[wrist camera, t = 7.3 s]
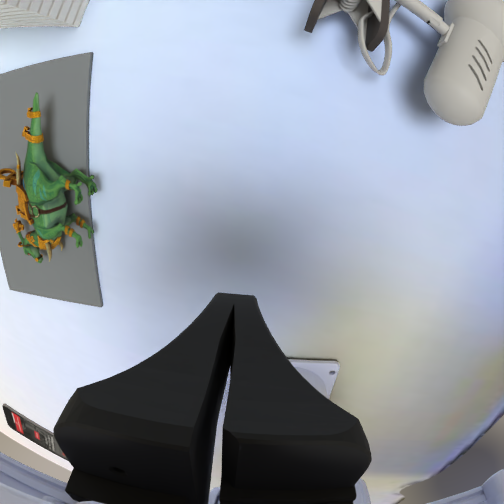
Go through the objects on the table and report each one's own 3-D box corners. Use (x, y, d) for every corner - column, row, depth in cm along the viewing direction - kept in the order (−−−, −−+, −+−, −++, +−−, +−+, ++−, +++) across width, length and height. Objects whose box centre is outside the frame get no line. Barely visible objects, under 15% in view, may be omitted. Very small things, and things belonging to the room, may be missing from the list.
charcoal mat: (103, 305, 23) (101, 307, 22) (11, 287, 23) (9, 289, 22) (93, 52, 15) (90, 52, 15) (-9, 78, 15) (-12, 78, 15)
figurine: (98, 267, 21) (17, 241, 21) (110, 94, 16) (17, 90, 16) (77, 291, 19) (-6, 259, 18) (83, 96, 13) (-13, 94, 13)
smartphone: (1, 403, 31) (92, 455, 33) (3, 400, 31) (94, 451, 33) (8, 426, 33) (90, 471, 35) (10, 423, 34) (91, 468, 36)
